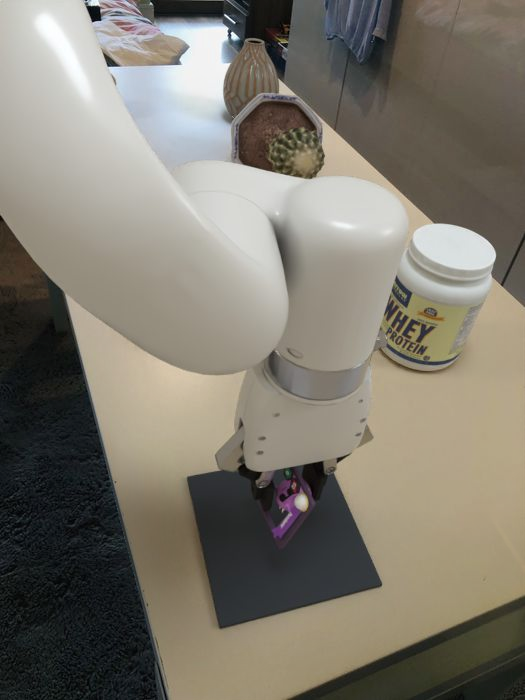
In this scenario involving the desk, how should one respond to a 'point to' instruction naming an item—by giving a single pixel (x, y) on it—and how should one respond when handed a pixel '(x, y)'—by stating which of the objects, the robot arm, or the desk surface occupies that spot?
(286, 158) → the potted plant
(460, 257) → the supplement tub
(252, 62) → the vase
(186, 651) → the desk surface
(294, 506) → the purple toy figure
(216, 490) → the mat
